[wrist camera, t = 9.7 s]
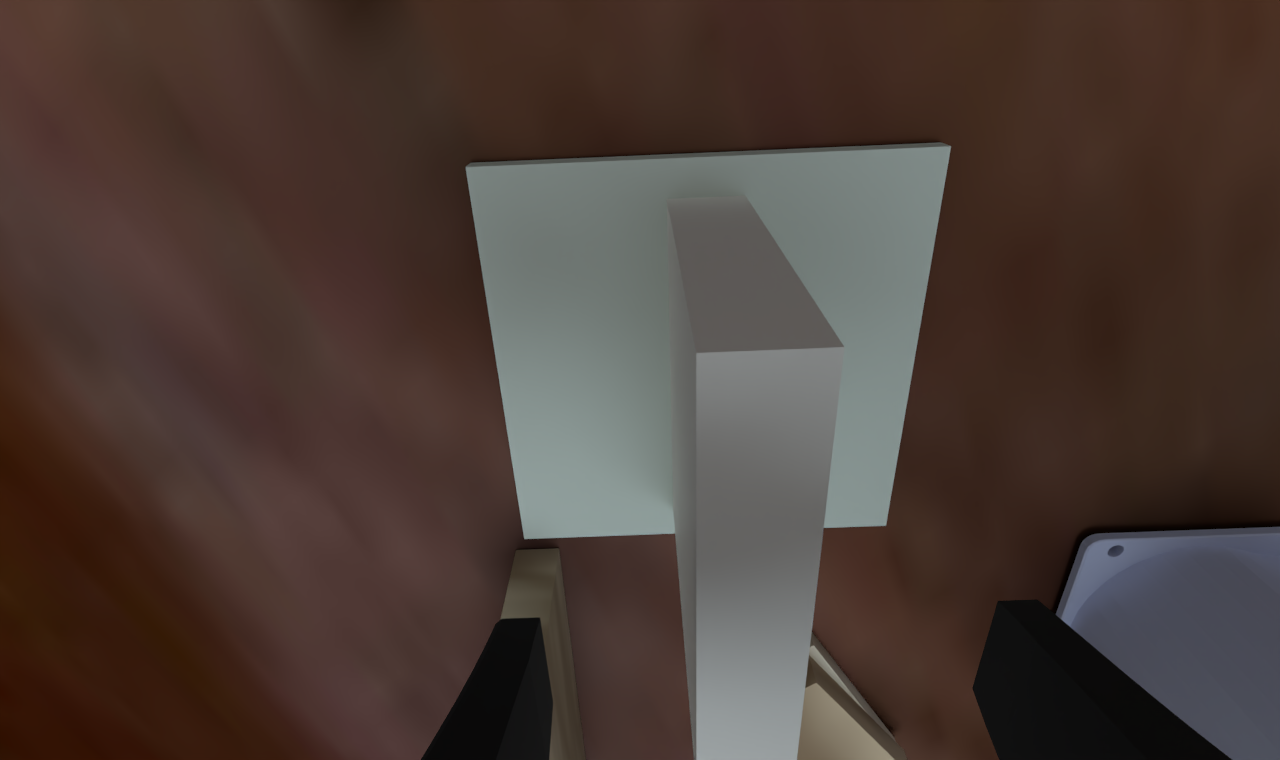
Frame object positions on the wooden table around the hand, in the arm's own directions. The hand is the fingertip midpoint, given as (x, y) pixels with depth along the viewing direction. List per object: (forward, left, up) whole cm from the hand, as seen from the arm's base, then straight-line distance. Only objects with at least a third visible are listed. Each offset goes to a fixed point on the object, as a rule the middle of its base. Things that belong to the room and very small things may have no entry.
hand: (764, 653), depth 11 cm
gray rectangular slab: (0, 0, -10) cm, 10 cm away
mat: (0, 0, -10) cm, 10 cm away
